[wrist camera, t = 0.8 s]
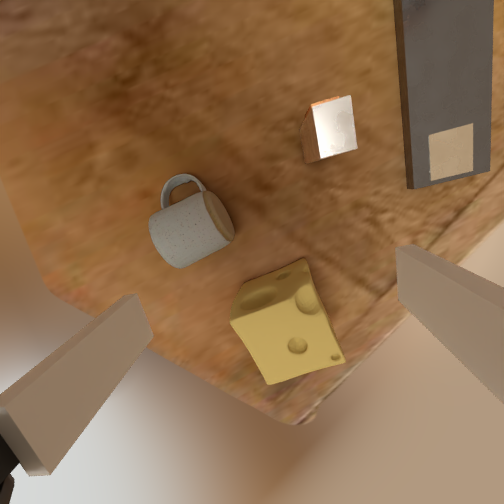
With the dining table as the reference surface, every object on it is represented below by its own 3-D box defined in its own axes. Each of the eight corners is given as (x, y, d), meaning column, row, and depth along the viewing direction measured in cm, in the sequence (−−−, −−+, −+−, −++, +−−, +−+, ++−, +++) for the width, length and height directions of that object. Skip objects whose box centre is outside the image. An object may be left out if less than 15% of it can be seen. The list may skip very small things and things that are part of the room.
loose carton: (298, 124, 28) (310, 98, 19) (323, 116, 28) (349, 86, 18) (305, 164, 30) (320, 158, 20) (329, 157, 29) (357, 148, 20)
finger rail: (388, -61, 23) (494, -278, 12) (481, -98, 22) (693, -377, 11) (407, 188, 29) (486, 195, 19) (479, 171, 28) (609, 167, 17)
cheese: (304, 255, 33) (316, 286, 24) (331, 317, 36) (351, 368, 26) (238, 281, 35) (225, 320, 26) (267, 338, 38) (266, 392, 28)
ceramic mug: (242, 233, 33) (232, 248, 26) (193, 258, 35) (171, 279, 27) (203, 161, 31) (180, 155, 23) (153, 192, 32) (117, 195, 25)
